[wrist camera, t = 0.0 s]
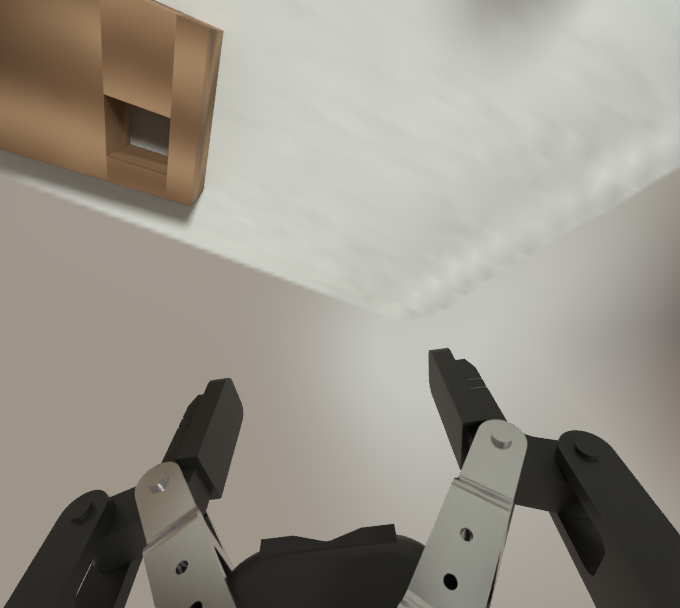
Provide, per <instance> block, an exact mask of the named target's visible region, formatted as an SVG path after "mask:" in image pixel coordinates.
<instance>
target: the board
mask: <svg viewBox="0 0 680 608" xmlns="http://www.w3.org/2000/svg"><path fill="white" fill-rule="evenodd" d="M222 38H223V30H220V29H218V28H216V27H213V26H211V25H209V24H207V23H204V22H202V21H200V20H198V19H195V18H193V17H191V16H189V15H186V14H184V13H182V12H179V11H177V10H175V9H173V8H170V7H168V6H166V5H164V4H161V3H159V2H157V1H155V0H0V149H3V150H6V151H9V152H13V153H16V154H19V155H23V156H26V157H29V158H32V159H36V160H39V161H42V162H46V163H49V164H52V165H56V166H59V167H62V168H65V169H69V170H72V171H75V172H79V173H82V174H85V175H89V176H92V177H95V178H98V179H102V180H105V181H108V182H112V183H115V184H118V185H122V186H125V187H128V188H131V189H135V190H138V191H141V192H145V193H148V194H151V195H154V196H158V197H161V198H164V199H168V200H171V201H174V202H178V203H181V204H184V205H187V206H191V205H192V204H193V202H194V201H195V200H196V198H197V197H198V196H199V195H200V193H201V192H202V191H203V189H204V181H205V173H206V165H207V157H208V149H209V141H210V133H211V125H212V117H213V109H214V101H215V94H216V86H217V78H218V70H219V62H220V54H221V46H222ZM130 104H133V105H135V106H138V107H141V108H144V109H146V110H149V111H152V112H155V113H157V114H160V115H163V116H166V117H168V118H170V132H169V149H168V157H167V156H164V155H161V154H158V153H155V152H152V151H149V150H146V149H143V148H140V147H137V146H134V145H131V144H130Z"/></svg>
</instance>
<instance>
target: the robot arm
mask: <svg viewBox="0 0 680 608" xmlns="http://www.w3.org/2000/svg"><path fill="white" fill-rule="evenodd" d="M429 383H430V388H431V393H432V396H433V399H434V401H435V404H436V407H437V409H438V412H439V414H440V417H441V420H442V423H443V425H444V428H445V430H446V433H447V436H448V438H449V441H450V444H451V446H452V449H453V452H454V455H455V457H456V460H457V462H458V465H459V468H460V470H461V472H460V475H459V477H458V478H454V480H453V482H452V483H451V486H450V488H449V490H448V493H447V495H446V498H445V500H444V502H443V505H442V507H441V510H440V512H439V514H438V517H437V520H436V522H435V524H434V527H433V529H432V531H431V534H430V536H429V539H428V541H427V543H426V546H424V545H422V544H421V543H420V542H418V541H415V540H413V539H411V538H408V537H405V536H401V535H396V532H395V527H394V524H389V525H380V526H372V527H363V528H359V529H357V530H355V531H352V532H350V533H348V534H345V535H343V536H340V537H338V538H335V539H333V540H331V541H319V540H314V539H309V538H303V537H298V536H287V537H278V538H270V539H262V540H261V546H260V552H257V553H255V554H254V555H252V556H250V557H248V558H247V559H246V560H244V561H243V562H242V563H240V564H239V565H238V566H237V567H236V568H234V567H233V565H232V563H231V561H230V559H229V558H228V555H227V553H226V551H225V549H224V547H223V544H222V542H221V540H220V538H219V536H218V533H217V531H216V529H215V527H214V524H213V522H212V520H211V518H210V516H209V514H208V512H207V510H206V509H207V506H208V503H209V500H212V499H219V498H221V497H222V493H223V489H224V486H225V482H226V479H227V475H228V471H229V468H230V464H231V460H232V456H233V453H234V449H235V446H236V442H237V438H238V435H239V431H240V428H241V424H242V420H243V407H242V403H241V401H240V399H239V396H238V394H237V391H236V389H235V386H234V384H233V382H232V380H231V379H230V378H224V379H217V380H211V381H210V382H209V383H208V385H207V388H206V390H205V392H204V394H203V395H198V396H197V397H196V398H195V399H194V400H193V401H192V403H191V404H190V405H189V406H188V408H187V410H186V412H185V414H184V416H183V419H182V421H181V423H180V425H179V428H178V429H177V431H176V433H175V435H174V437H173V440H172V442H171V444H170V446H169V448H168V450H167V452H166V454H165V457H164V459H163V461H162V463H161V464H158V465H156V466H155V467H153V468H152V469H150V470H149V471H147V472H146V474H144V475H143V476H142V478H141V479H140V480H139V482H138V484H137V486H136V487H134V488H131V489H129V490H127V491H124V492H122V493H119V494H117V495H114V496H112V497H109V496H108V495H107V494H106V493H105V492H104V491H102V490H94V491H90V492H87V493H85V494H83V495H82V496H80V497H79V498H77V499H75V500H74V501H73V502H72V503H71V504H69V506H68V507H66V509H65V510H64V511H63V512H62V514H61V515H60V517H59V518H58V520H57V521H56V523H55V525H54V526H53V528H52V530H51V531H50V533H49V535H48V536H47V538H46V539H45V541H44V543H43V544H42V546H41V548H40V549H39V551H38V553H37V554H36V556H35V557H34V559H33V561H32V562H31V564H30V566H29V567H28V569H27V571H26V572H25V574H24V575H23V577H22V579H21V580H20V582H19V584H18V585H17V587H16V588H15V590H14V592H13V593H12V595H11V597H10V598H9V600H8V601H7V603H6V605H5V606H4V608H124V607H125V604H126V602H127V599H128V596H129V593H130V591H131V588H132V585H133V582H134V580H135V577H136V574H137V572H138V569H139V566H140V563H141V561H142V558H144V563H145V567H146V571H147V575H148V579H149V584H150V588H151V592H152V596H153V600H154V605H155V608H490V606H491V602H492V597H493V593H494V589H495V585H496V582H497V577H498V573H499V569H500V564H501V560H502V556H503V552H504V548H505V543H506V539H507V535H508V532H509V528H510V523H511V519H512V515H513V511H514V507H515V504H516V505H521V506H526V507H531V508H536V509H540V510H545V511H549V513H550V515H551V517H552V519H553V521H554V523H555V525H556V527H557V529H558V531H559V533H560V535H561V537H562V539H563V541H564V543H565V545H566V547H567V549H568V551H569V553H570V556H571V558H572V560H573V562H574V564H575V566H576V568H577V569H578V572H579V574H580V576H581V578H582V580H583V582H584V584H585V586H586V588H587V590H588V592H589V594H590V596H591V598H592V600H593V602H594V604H595V606H596V608H680V535H679V533H678V532H677V531H676V529H675V528H674V527H673V525H672V524H671V523H670V522H669V520H668V519H667V518H666V516H665V515H664V514H663V513H662V511H661V510H660V509H659V507H658V506H657V505H656V504H655V502H654V501H653V500H652V498H651V497H650V496H649V495H648V493H647V492H646V491H645V489H644V488H643V487H642V486H641V484H640V483H639V482H638V480H637V479H636V478H635V477H634V475H633V474H632V473H631V472H630V470H629V469H628V468H627V466H626V465H625V464H624V462H623V461H622V460H621V459H620V457H619V456H618V455H617V454H616V452H615V451H614V449H613V448H612V447H611V446H610V445H609V444H608V443H606V442H605V441H604V440H603V439H601V438H599V437H598V436H596V435H593V434H591V433H588V432H584V431H577V430H574V431H568V432H565V433H563V434H562V435H561V436H560V438H559V440H551V439H544V438H537V437H532V436H529V435H526V434H524V433H523V432H522V431H521V430H520V429H519V428H518V427H516V426H515V425H513V424H511V423H509V422H507V420H506V419H505V417H504V415H503V414H502V412H501V410H500V409H499V407H498V405H497V403H496V402H495V400H494V398H493V397H492V395H491V393H490V391H489V390H488V388H486V385H485V383H484V381H483V380H482V379H481V376H480V374H479V373H478V371H477V369H476V368H475V367H474V366H473V365H472V364H471V363H469V362H468V361H467V360H465V359H460V360H455V359H454V357H453V355H452V353H451V351H450V349H449V348H443V349H436V350H429ZM90 564H91V567H90V569H89V566H90ZM88 569H89V571H88ZM87 571H88V573H87ZM86 573H87V575H86ZM85 575H86V577H85ZM84 577H85V579H84ZM83 579H84V581H83ZM82 581H83V583H82ZM81 583H82V586H81V588H80V590H79V587H80V585H81ZM78 590H79V592H78ZM77 592H78V594H77ZM76 595H77V596H76Z"/></svg>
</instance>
